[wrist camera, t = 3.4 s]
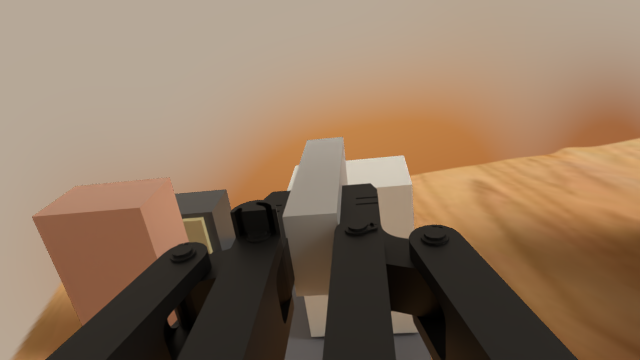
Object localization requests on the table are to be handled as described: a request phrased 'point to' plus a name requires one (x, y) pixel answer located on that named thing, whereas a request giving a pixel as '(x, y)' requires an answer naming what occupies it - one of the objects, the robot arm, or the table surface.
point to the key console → (302, 350)
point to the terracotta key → (109, 237)
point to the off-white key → (394, 217)
